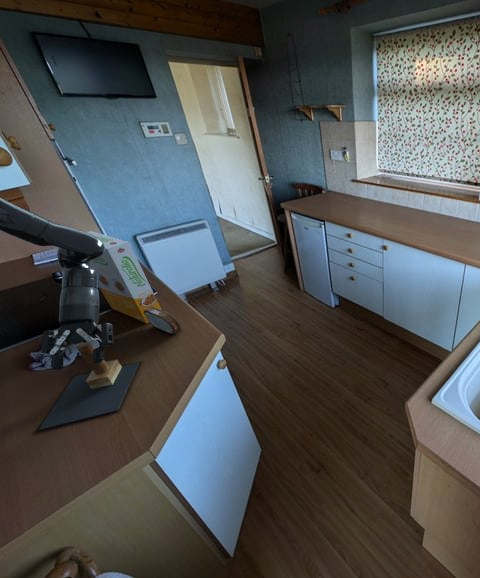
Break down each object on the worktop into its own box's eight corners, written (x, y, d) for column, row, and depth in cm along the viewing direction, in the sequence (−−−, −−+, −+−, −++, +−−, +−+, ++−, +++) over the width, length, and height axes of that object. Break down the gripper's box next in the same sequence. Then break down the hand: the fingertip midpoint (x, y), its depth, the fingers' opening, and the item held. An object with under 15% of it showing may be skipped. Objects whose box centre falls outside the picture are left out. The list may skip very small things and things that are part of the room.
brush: (91, 389, 82) (64, 355, 75) (102, 371, 88) (78, 337, 81) (112, 384, 84) (88, 350, 77) (122, 367, 89) (100, 334, 82)
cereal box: (163, 314, 113) (128, 241, 97) (146, 323, 108) (107, 248, 92) (128, 300, 120) (91, 230, 105) (111, 308, 116) (69, 236, 100)
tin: (184, 332, 104) (175, 313, 99) (175, 338, 101) (166, 319, 97) (157, 321, 109) (148, 302, 104) (148, 326, 106) (138, 307, 102)
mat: (39, 430, 72) (38, 429, 72) (74, 377, 86) (74, 376, 86) (118, 411, 77) (117, 410, 77) (139, 363, 91) (138, 362, 91)
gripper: (34, 307, 74) (30, 372, 71) (101, 299, 77) (100, 361, 74) (59, 312, 81) (57, 371, 78) (119, 304, 85) (119, 361, 81)
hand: (78, 366), depth 76 cm, fingers open, 8 cm apart
